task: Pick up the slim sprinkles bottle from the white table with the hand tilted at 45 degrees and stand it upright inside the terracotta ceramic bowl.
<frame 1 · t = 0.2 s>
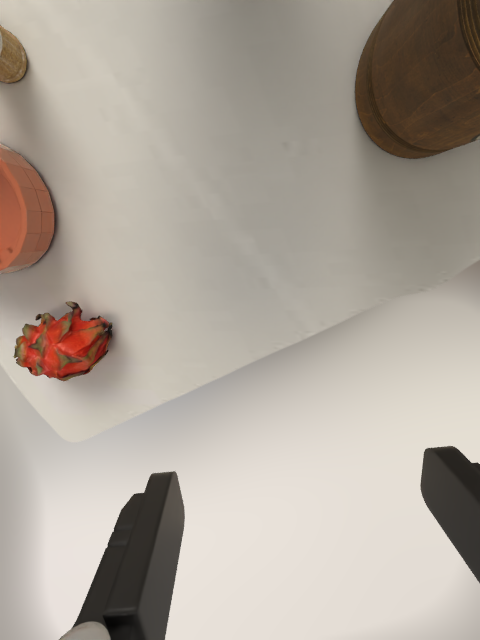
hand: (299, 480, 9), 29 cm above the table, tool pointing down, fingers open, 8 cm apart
sprinkles bottle: (7, 58, 30), on the table
wooden container: (423, 81, 31), on the table
dragon fruit: (83, 331, 39), on the table
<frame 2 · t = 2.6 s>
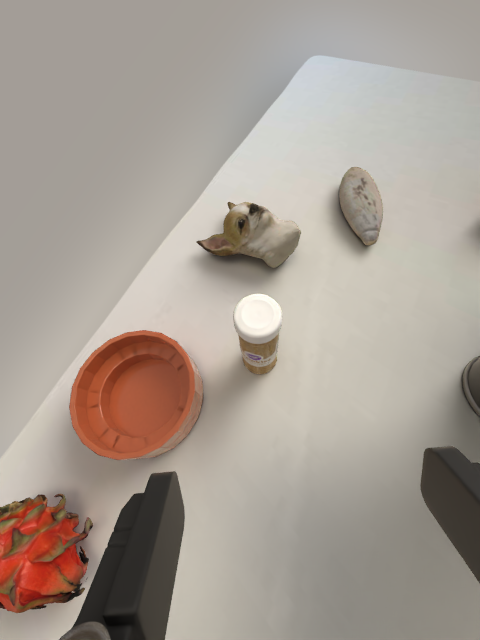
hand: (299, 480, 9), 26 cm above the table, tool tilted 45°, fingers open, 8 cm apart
sprinkles bottle: (260, 358, 39), on the table
dragon fruit: (63, 540, 32), on the table
ceramic sculpture: (253, 248, 47), on the table
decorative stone: (357, 212, 48), on the table
bowl: (149, 397, 38), on the table
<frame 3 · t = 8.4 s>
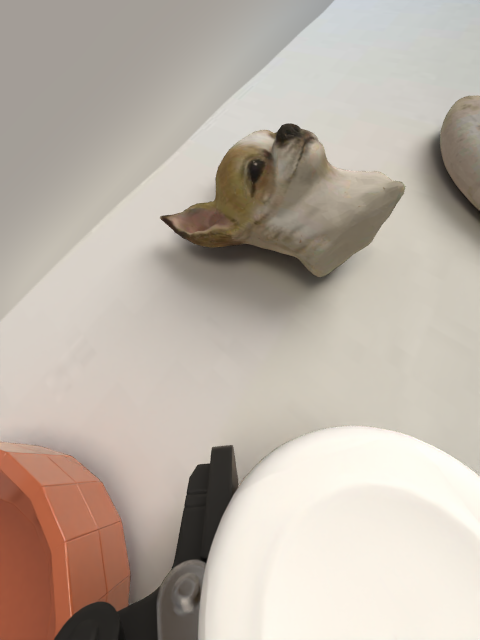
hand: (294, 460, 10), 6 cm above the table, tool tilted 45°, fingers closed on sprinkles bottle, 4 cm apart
sprinkles bottle: (288, 503, 15), on the table, touching gripper
ceramic sculpture: (274, 236, 24), on the table
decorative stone: (474, 179, 25), on the table
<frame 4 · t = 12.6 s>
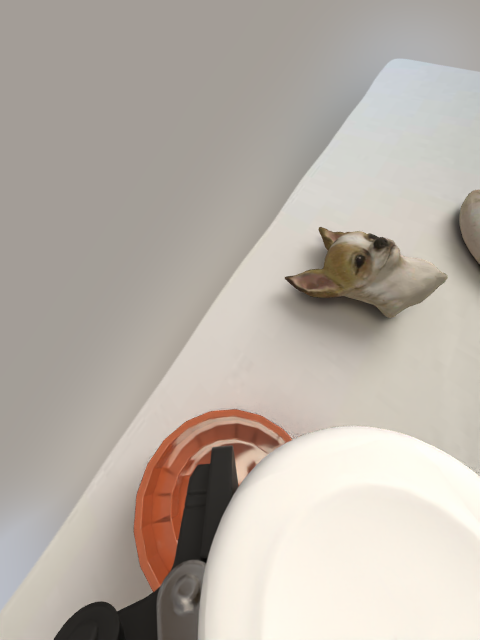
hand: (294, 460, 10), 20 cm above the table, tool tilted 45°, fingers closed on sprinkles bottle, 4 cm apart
sprinkles bottle: (288, 503, 15), point 13 cm above the table, touching gripper
ceramic sculpture: (353, 287, 36), on the table
bowl: (233, 498, 27), on the table
when the fingers open (7 cm above the table, at t = 16.9 s): sprinkles bottle stays where it is, resting on bowl.
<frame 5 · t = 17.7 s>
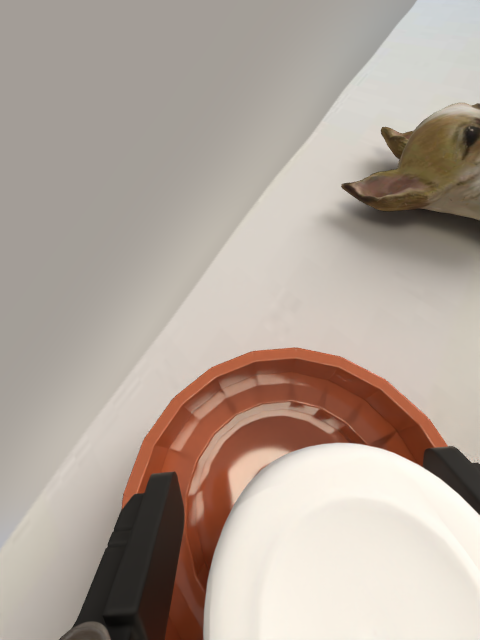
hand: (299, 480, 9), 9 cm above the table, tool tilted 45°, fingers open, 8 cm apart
sprinkles bottle: (286, 506, 16), point 1 cm above the table, touching bowl
ceramic sculpture: (433, 204, 26), on the table
bowl: (285, 501, 16), on the table
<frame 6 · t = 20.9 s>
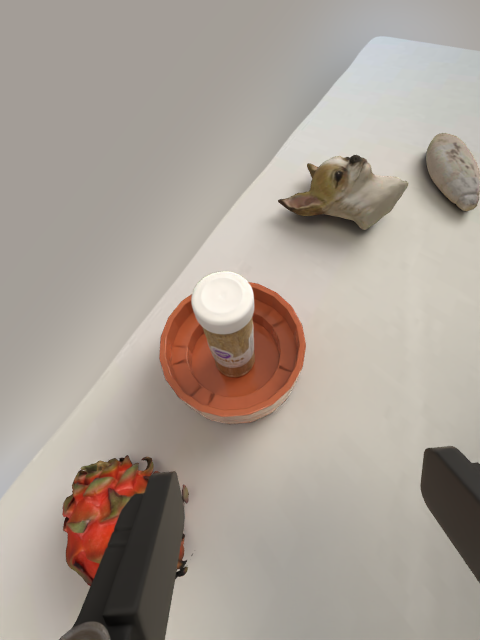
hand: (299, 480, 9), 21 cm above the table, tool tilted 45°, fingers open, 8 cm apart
sprinkles bottle: (235, 359, 33), point 1 cm above the table, touching bowl
dragon fruit: (145, 513, 27), on the table
ceramic sculpture: (335, 211, 43), on the table
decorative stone: (445, 180, 45), on the table
bowl: (235, 359, 33), on the table
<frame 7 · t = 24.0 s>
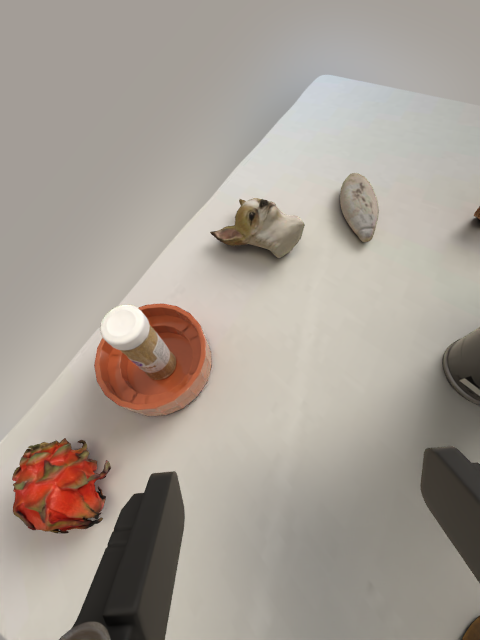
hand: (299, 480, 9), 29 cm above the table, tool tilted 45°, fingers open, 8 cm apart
sprinkles bottle: (162, 365, 41), point 1 cm above the table, touching bowl
dragon fruit: (81, 483, 36), on the table
ceramic sculpture: (261, 240, 52), on the table
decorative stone: (355, 213, 53), on the table
bowl: (163, 365, 42), on the table
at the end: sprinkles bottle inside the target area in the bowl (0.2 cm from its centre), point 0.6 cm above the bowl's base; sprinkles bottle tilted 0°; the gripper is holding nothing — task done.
